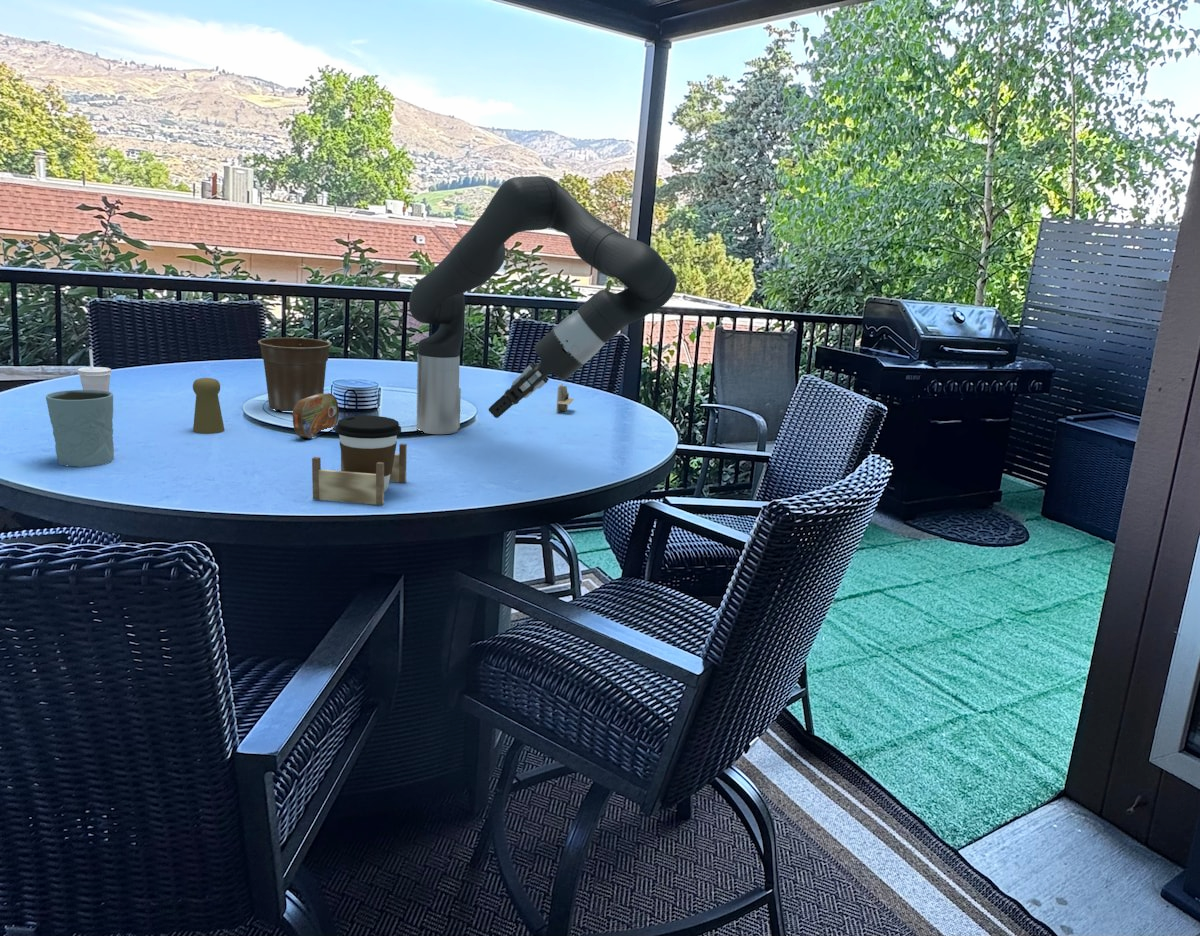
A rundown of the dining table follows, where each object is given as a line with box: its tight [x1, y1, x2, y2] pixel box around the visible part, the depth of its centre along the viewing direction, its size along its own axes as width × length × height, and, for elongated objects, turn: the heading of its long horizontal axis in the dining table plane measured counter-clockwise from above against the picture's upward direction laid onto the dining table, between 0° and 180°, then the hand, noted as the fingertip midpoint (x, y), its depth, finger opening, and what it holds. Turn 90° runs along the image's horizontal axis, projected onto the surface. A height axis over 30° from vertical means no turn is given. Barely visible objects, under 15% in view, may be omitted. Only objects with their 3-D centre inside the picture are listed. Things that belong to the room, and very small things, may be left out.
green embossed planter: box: [45, 389, 115, 467], centre depth 149 cm, size 10×10×12 cm
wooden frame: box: [311, 443, 408, 506], centre depth 144 cm, size 12×14×7 cm
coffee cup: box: [334, 415, 402, 492], centre depth 144 cm, size 11×11×12 cm
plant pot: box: [257, 337, 332, 412], centre depth 201 cm, size 16×16×16 cm
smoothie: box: [77, 348, 113, 392], centre depth 183 cm, size 6×6×14 cm
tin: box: [292, 393, 340, 439], centre depth 180 cm, size 15×3×8 cm, turn 168°
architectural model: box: [556, 383, 575, 414], centre depth 221 cm, size 3×7×7 cm, turn 172°
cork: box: [192, 377, 225, 435], centre depth 176 cm, size 6×6×11 cm
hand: (492, 413), depth 140 cm, fingers closed
